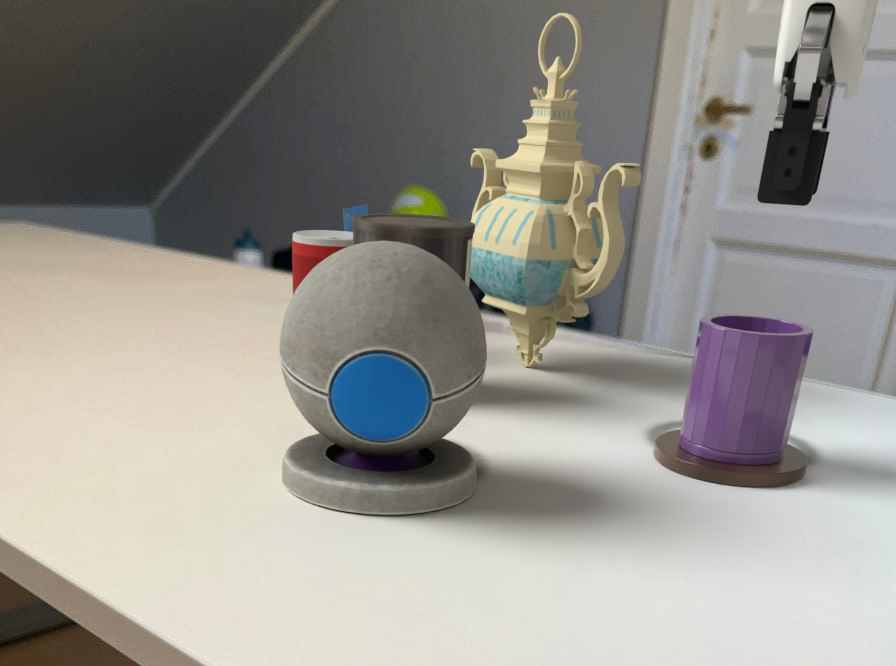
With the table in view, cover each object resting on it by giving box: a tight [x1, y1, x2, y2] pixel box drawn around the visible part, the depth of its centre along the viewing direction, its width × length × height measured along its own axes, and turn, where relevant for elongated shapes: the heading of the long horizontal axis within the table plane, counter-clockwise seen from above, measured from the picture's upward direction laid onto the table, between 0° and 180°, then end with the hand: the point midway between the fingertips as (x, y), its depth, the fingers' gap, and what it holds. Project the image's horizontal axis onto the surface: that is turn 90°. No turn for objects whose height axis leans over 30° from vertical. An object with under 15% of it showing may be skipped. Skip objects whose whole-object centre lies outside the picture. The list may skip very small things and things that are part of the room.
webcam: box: [278, 241, 488, 516], centre depth 62 cm, size 13×13×15 cm
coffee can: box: [351, 212, 475, 289], centre depth 84 cm, size 10×10×14 cm
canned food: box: [291, 229, 353, 296], centre depth 98 cm, size 8×8×11 cm
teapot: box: [469, 12, 642, 368], centre depth 90 cm, size 24×12×30 cm, turn 29°
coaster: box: [653, 428, 809, 488], centre depth 72 cm, size 11×11×1 cm
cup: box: [679, 313, 815, 465], centre depth 70 cm, size 8×8×9 cm
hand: (787, 198), depth 65 cm, fingers open, 9 cm apart
